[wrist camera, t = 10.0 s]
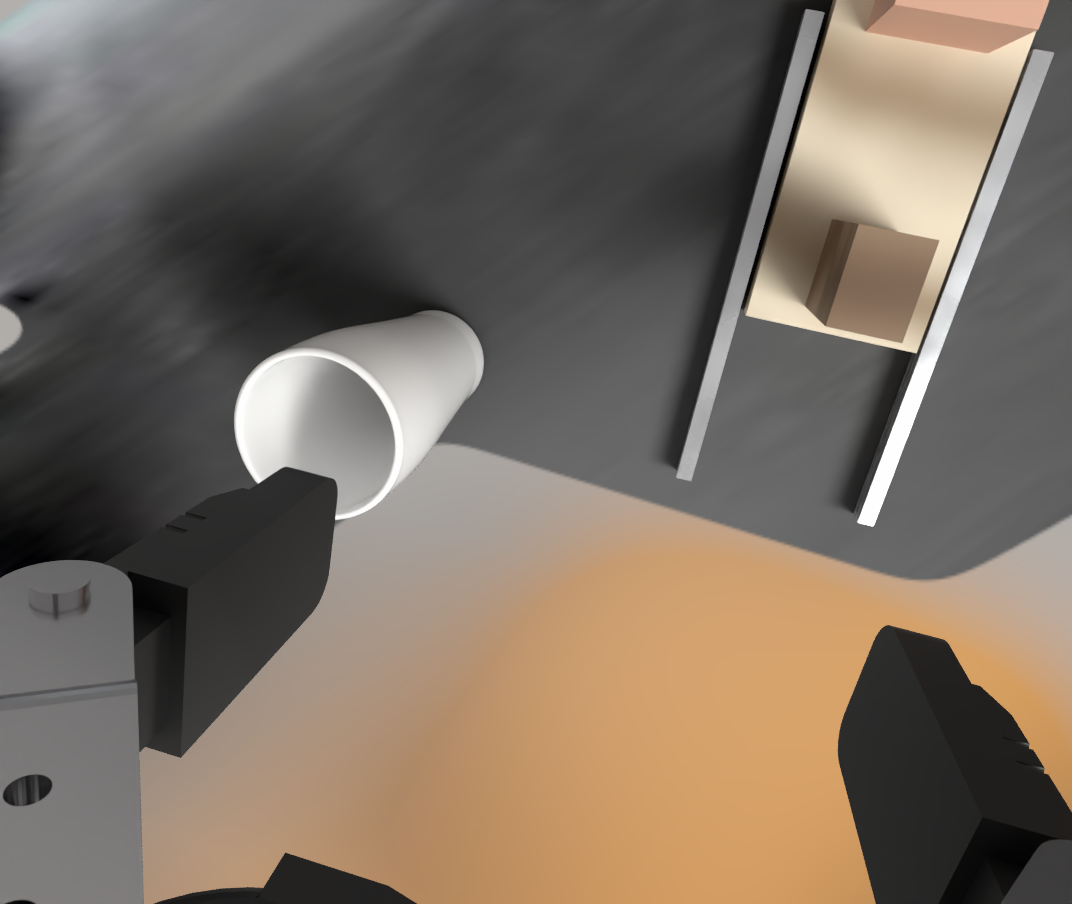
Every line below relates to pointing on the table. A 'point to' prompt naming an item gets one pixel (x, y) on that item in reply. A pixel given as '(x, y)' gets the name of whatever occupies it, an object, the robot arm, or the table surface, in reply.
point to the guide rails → (947, 297)
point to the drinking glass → (358, 403)
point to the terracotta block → (958, 21)
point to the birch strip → (879, 180)
